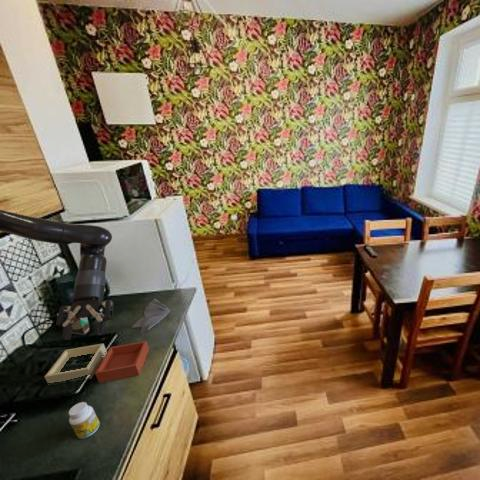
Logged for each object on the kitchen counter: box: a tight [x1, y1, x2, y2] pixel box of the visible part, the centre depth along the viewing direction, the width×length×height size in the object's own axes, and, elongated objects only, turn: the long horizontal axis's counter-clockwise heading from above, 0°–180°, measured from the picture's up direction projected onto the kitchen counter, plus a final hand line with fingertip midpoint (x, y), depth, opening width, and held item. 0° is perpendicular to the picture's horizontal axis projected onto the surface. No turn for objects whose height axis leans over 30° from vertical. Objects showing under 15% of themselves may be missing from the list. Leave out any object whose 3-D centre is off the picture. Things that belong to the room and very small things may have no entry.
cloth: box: [131, 297, 171, 334], centre depth 129 cm, size 26×14×2 cm, turn 12°
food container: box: [56, 310, 91, 336], centre depth 118 cm, size 12×6×10 cm, turn 80°
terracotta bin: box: [94, 340, 150, 384], centre depth 101 cm, size 13×13×5 cm
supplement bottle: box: [68, 401, 101, 439], centre depth 78 cm, size 5×5×10 cm
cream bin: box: [44, 343, 108, 384], centre depth 99 cm, size 13×13×5 cm
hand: (83, 337), depth 82 cm, fingers open, 8 cm apart
